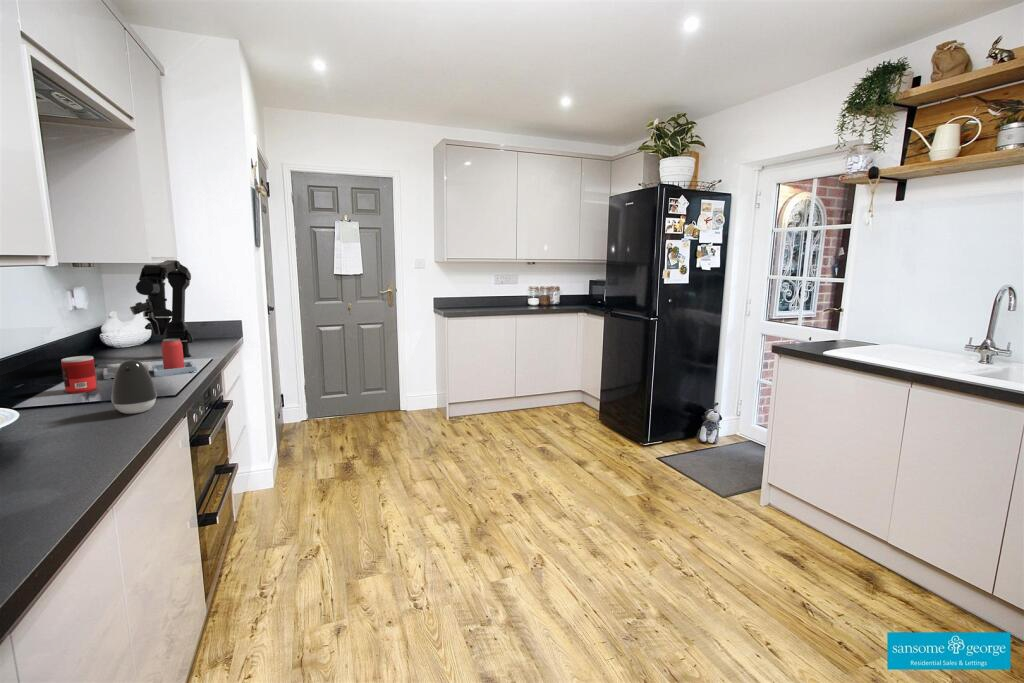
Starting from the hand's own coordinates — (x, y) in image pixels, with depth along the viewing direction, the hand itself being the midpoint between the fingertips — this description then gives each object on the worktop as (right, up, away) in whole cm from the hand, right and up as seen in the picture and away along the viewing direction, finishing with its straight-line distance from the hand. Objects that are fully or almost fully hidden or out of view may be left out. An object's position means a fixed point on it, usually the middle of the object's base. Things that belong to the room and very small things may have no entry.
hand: (158, 334), depth 192 cm
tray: (+11, -14, -6) cm, 19 cm away
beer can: (+10, -14, -6) cm, 18 cm away
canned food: (0, -19, -34) cm, 39 cm away
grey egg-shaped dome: (+34, -23, -55) cm, 68 cm away
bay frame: (-4, -15, -11) cm, 19 cm away
